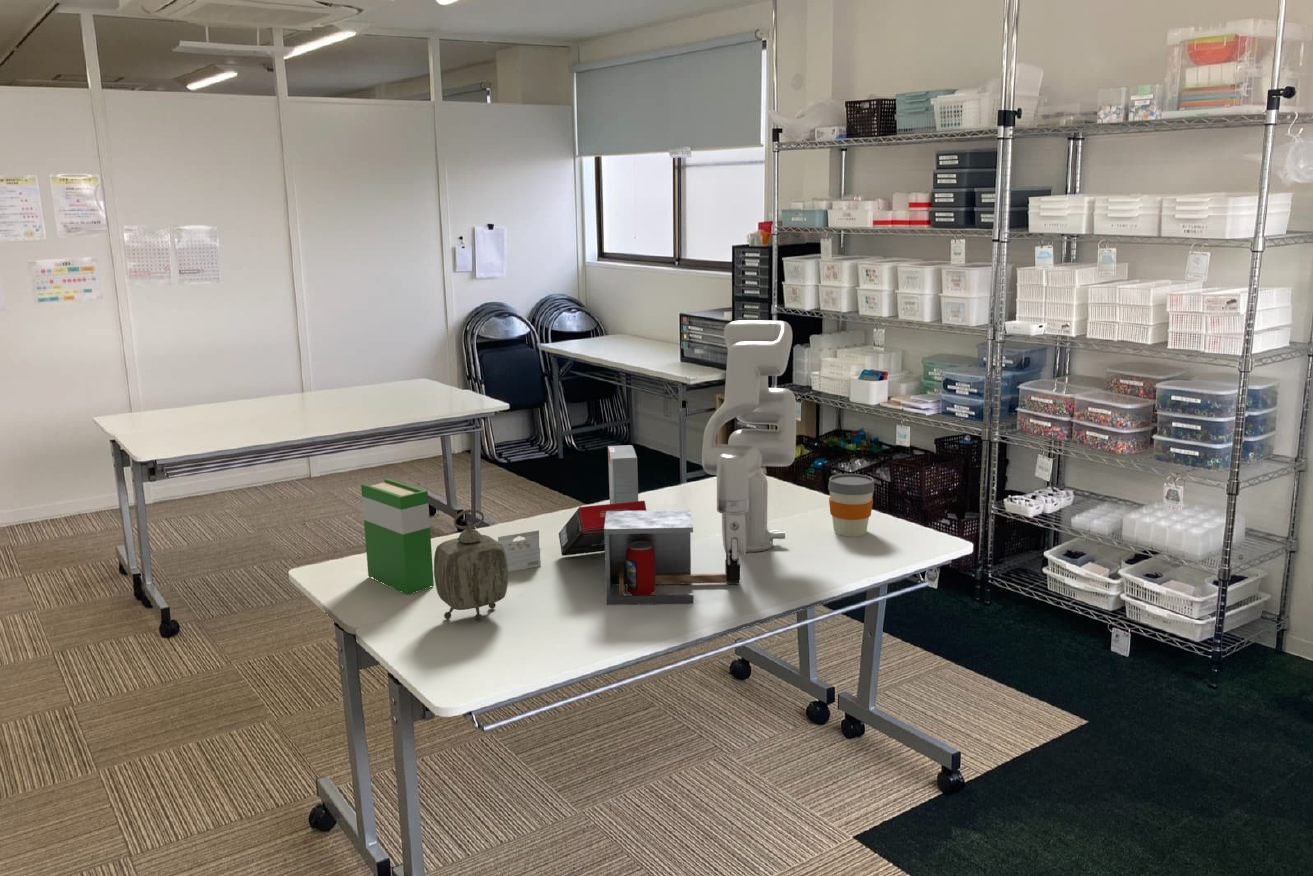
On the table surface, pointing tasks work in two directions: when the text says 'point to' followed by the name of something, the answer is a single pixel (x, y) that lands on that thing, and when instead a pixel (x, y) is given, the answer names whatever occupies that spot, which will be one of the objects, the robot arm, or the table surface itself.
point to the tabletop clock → (470, 570)
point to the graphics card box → (590, 527)
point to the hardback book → (398, 535)
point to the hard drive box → (622, 474)
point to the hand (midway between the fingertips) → (732, 577)
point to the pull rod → (680, 578)
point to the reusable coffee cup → (850, 503)
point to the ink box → (521, 550)
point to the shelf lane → (667, 541)
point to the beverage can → (640, 568)
